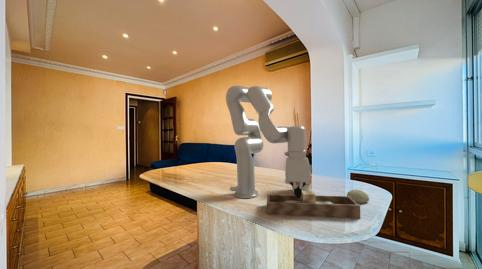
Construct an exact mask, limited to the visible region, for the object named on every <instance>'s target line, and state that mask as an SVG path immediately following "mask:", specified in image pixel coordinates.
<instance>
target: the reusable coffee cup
mask: <svg viewBox="0 0 482 269" xmlns="http://www.w3.org/2000/svg"><path fill="white" fill-rule="evenodd" d="M309 166H310V182H311V183H310V184H306V185H305V186H303V187H302V191H311V190H310V187H311V184H312V180H313V179H312V177H313V176H312V172H313V165H312V164H310V163H309ZM296 186H297V188H298V186H299V182H296ZM291 187H292V192H293V193H294V187H293V186H291Z"/></svg>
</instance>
